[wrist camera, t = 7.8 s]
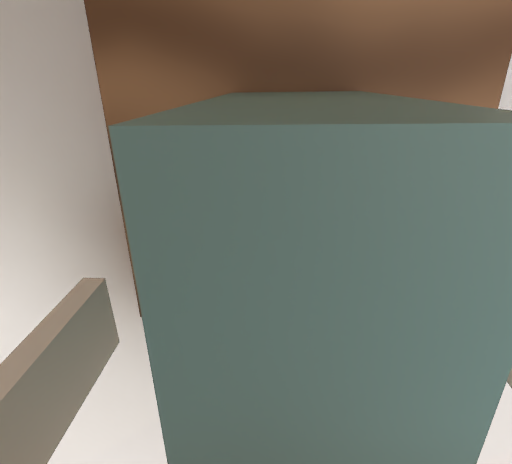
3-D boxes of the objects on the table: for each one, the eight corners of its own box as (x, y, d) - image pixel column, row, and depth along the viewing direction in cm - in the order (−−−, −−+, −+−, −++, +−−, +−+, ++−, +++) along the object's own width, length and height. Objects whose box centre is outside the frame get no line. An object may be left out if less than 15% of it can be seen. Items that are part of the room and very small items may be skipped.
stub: (232, 92, 14) (98, 128, 4) (360, 91, 13) (619, 125, 3) (239, 303, 18) (188, 606, 8) (339, 305, 17) (426, 624, 7)
